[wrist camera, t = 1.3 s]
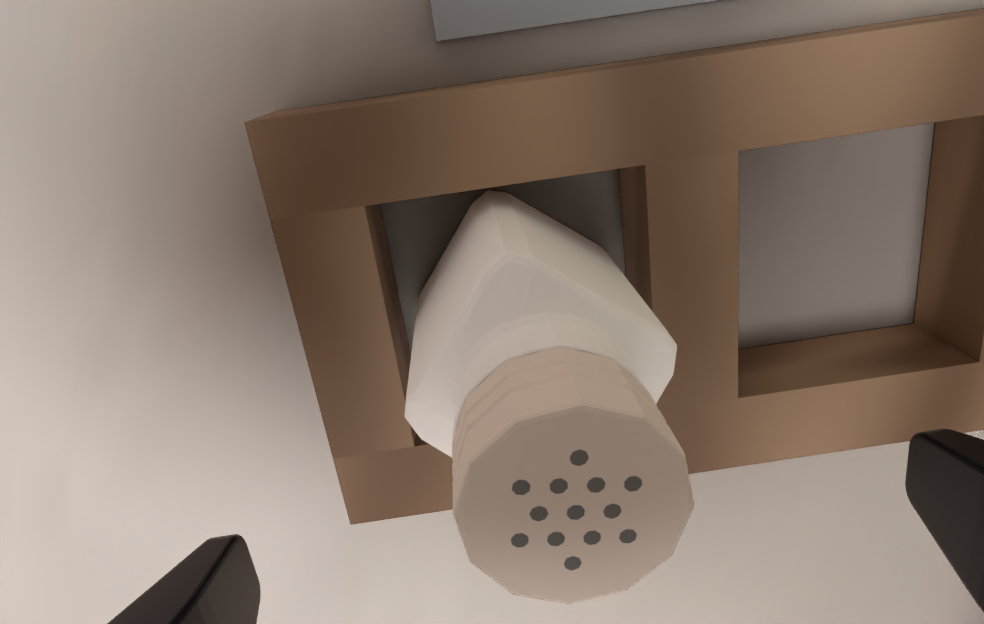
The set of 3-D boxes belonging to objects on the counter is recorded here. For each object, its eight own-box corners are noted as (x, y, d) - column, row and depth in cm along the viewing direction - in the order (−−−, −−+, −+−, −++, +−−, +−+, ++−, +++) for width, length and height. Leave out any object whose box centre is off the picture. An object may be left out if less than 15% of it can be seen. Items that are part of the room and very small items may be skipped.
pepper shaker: (408, 307, 18) (369, 565, 9) (484, 176, 17) (524, 319, 8) (536, 373, 19) (615, 664, 10) (616, 252, 18) (787, 458, 9)
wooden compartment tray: (1030, 1, 16) (1130, -7, 14) (974, 376, 20) (1045, 420, 17) (274, 111, 16) (244, 122, 13) (362, 467, 19) (350, 524, 17)
